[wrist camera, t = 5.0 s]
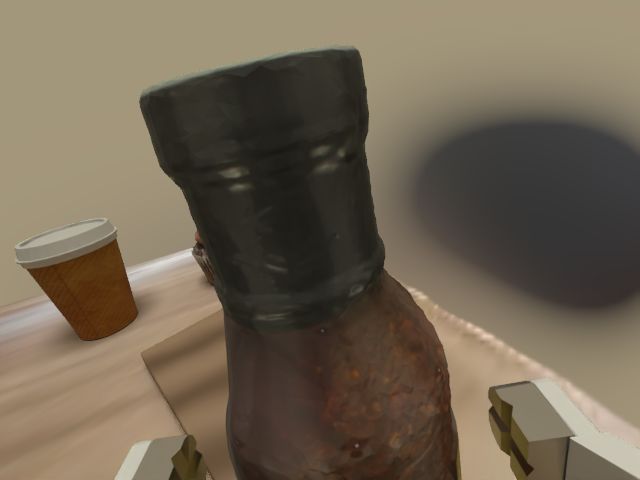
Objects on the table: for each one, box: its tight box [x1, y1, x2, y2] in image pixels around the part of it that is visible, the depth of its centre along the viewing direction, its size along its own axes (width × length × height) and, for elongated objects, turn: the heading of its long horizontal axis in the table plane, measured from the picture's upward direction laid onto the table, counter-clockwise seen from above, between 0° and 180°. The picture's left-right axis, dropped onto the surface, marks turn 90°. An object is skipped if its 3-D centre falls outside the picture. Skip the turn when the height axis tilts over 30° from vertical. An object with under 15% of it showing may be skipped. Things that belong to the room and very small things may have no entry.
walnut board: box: [140, 309, 237, 480], centre depth 28 cm, size 20×14×2 cm
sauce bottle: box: [139, 45, 462, 480], centre depth 10 cm, size 6×6×20 cm
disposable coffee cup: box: [15, 218, 138, 340], centre depth 38 cm, size 10×10×12 cm
